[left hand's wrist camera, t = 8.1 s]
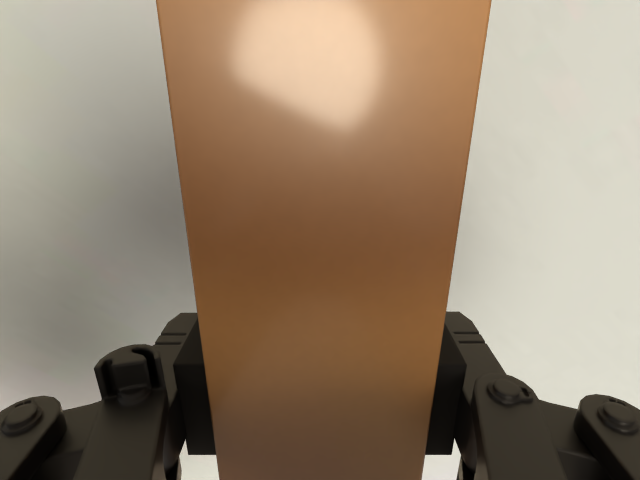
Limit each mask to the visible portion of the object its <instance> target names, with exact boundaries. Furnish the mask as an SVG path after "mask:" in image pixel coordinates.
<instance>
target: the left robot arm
mask: <svg viewBox="0 0 640 480" xmlns="http://www.w3.org/2000/svg"><path fill="white" fill-rule="evenodd" d="M94 371H95V375H96V378H97V382H98V386H99V389H100V393H101V397H102V400H101V401H100V402H96V403H93V404H90V405H85V406H81V407H77V408H72V409H68V410H64V411H63V410H62V407H61V404H60V402H59V401H58V400H57V399H55V398H54V397H48V396H39V397H32V398H28V399H25V400H22V401H20V402H17V403H15V404H13V405H11V406H9V407H8V408H6V409H4V410H2V411H1V412H0V480H181V471H182V470H181V464H180V458H179V455H180V452H181V449H182V447H183V444H184V442H185V439H186V444H187V450H188V455H216V449H215V442H214V434H213V427H212V419H211V412H210V404H209V397H208V389H207V381H206V374H205V366H204V359H203V351H202V344H201V336H200V329H199V321H198V314H197V313H180V314H179V315H177V316H176V317H175V318H173V319H172V320H171V321H169V322H168V323H167V325H166V327H165V328H164V330H163V331H162V333H161V336H159V337H158V339H157V340H156V342H155V345H153V346H150V345H146V344H138V345H130V346H126V347H122V348H119V349H117V350H115V351H113V352H111V353H109V354H107V355H106V356H105V357H103V358H102V359H101V360H100V361H99V362H98V363H97V365H96V366H95V367H94ZM454 438H455V440H456V443H457V446H458V448H459V451H460V453H461V458H460V464H459V469H458V474H457V480H640V410H639V409H638V408H636V407H634V406H632V405H630V404H628V403H627V402H625V401H622V400H620V399H617V398H614V397H611V396H606V395H599V394H594V395H588V396H585V397H584V398H583V399H582V400H581V401H580V403H579V406H578V409H574V408H570V407H566V406H561V405H557V404H553V403H549V402H545V401H542V400H539V399H538V397H537V396H536V394H535V393H534V391H533V390H532V389H531V388H530V387H529V386H528V385H526V384H525V383H524V382H522V381H520V380H518V379H516V378H515V377H513V376H509V375H506V373H505V372H504V370H503V368H502V367H501V365H500V364H499V362H498V361H497V359H496V358H495V356H494V355H493V353H492V352H491V350H490V348H489V347H488V345H487V344H485V341H484V339H483V338H482V336H481V335H480V334H479V331H478V330H477V328H476V327H475V325H474V324H473V322H472V321H471V320H470V319H468V318H467V317H465V316H464V315H463V314H461V313H460V312H446V315H445V322H444V329H443V336H442V342H441V349H440V356H439V363H438V370H437V377H436V383H435V390H434V397H433V404H432V411H431V418H430V424H429V431H428V438H427V445H426V452H425V455H451V454H452V449H453V443H454Z"/></svg>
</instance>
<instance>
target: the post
mask: <svg viewBox="0 0 640 480" xmlns="http://www.w3.org/2000/svg"><path fill="white" fill-rule="evenodd" d="M156 4H157V12H158V19H159V27H160V35H161V42H162V50H163V57H164V65H165V72H166V80H167V87H168V95H169V102H170V110H171V118H172V125H173V133H174V140H175V148H176V155H177V163H178V170H179V178H180V185H181V193H182V200H183V208H184V216H185V223H186V231H187V238H188V246H189V253H190V261H191V268H192V276H193V283H194V291H195V298H196V306H197V314H198V321H199V329H200V336H201V344H202V351H203V359H204V366H205V374H206V381H207V389H208V397H209V404H210V412H211V419H212V427H213V434H214V442H215V449H216V457H217V464H218V472H219V479H220V480H421V479H422V472H423V466H424V459H425V452H426V445H427V438H428V431H429V424H430V418H431V411H432V404H433V397H434V390H435V383H436V377H437V370H438V363H439V356H440V349H441V342H442V336H443V329H444V322H445V315H446V308H447V301H448V295H449V288H450V281H451V274H452V267H453V260H454V253H455V247H456V240H457V233H458V226H459V219H460V212H461V206H462V199H463V192H464V185H465V178H466V171H467V165H468V158H469V151H470V144H471V137H472V130H473V124H474V117H475V110H476V103H477V96H478V89H479V82H480V76H481V69H482V62H483V55H484V48H485V41H486V35H487V28H488V21H489V14H490V7H491V0H156Z"/></svg>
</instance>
